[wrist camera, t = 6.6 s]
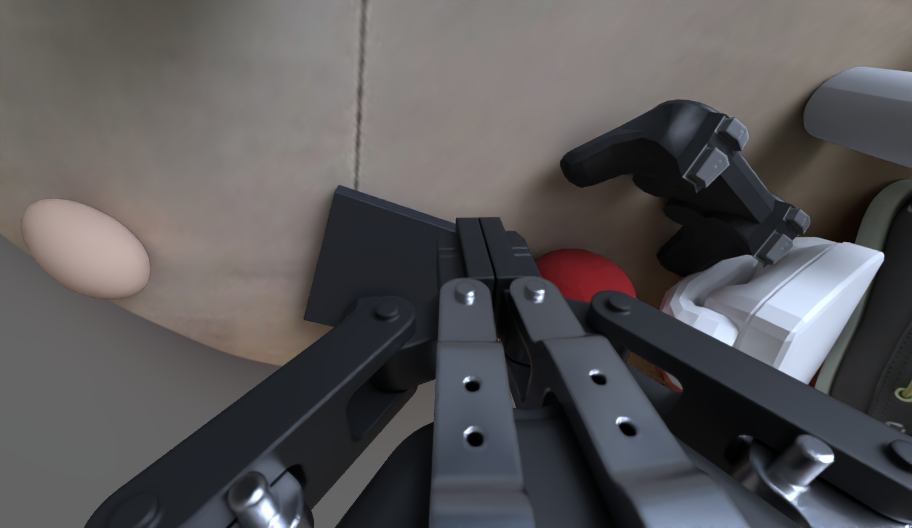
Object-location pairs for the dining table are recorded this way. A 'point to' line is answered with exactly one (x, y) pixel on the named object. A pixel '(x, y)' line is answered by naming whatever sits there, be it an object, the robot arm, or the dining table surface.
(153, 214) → the dining table surface
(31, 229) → the egg
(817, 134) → the beverage can
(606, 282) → the apple
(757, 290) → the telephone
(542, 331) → the robot arm
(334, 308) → the push button pad
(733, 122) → the game controller
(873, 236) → the boat shoe
